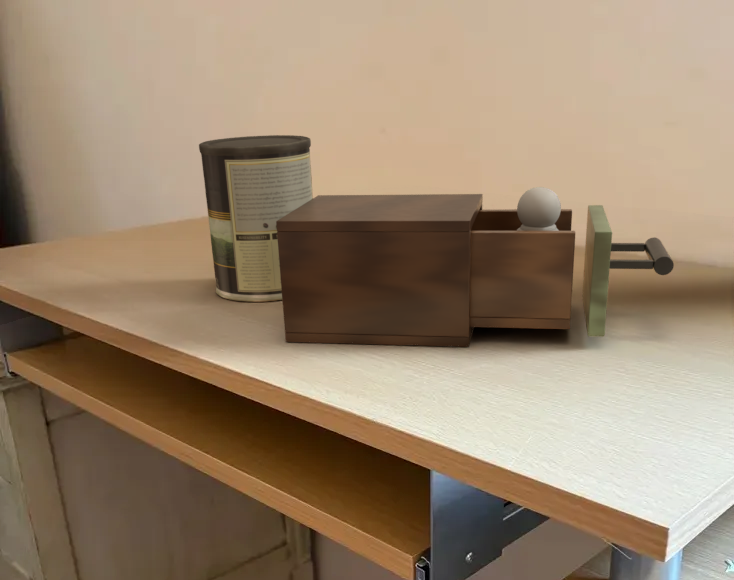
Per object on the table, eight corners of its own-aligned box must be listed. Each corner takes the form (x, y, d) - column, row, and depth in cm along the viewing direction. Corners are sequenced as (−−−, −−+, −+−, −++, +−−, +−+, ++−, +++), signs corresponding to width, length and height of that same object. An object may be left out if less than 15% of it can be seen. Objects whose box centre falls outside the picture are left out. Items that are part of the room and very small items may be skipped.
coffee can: (194, 297, 80) (175, 145, 75) (252, 273, 89) (240, 135, 83) (285, 306, 76) (272, 146, 70) (337, 280, 84) (330, 135, 79)
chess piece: (581, 301, 66) (589, 186, 63) (532, 313, 64) (537, 194, 60) (534, 288, 71) (539, 180, 67) (486, 299, 68) (489, 187, 65)
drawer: (653, 297, 71) (662, 204, 68) (670, 338, 61) (682, 231, 58) (441, 293, 74) (440, 205, 71) (424, 332, 64) (422, 231, 61)
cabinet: (481, 302, 75) (482, 193, 71) (468, 347, 63) (470, 220, 60) (324, 299, 78) (317, 195, 74) (285, 342, 66) (275, 221, 62)
